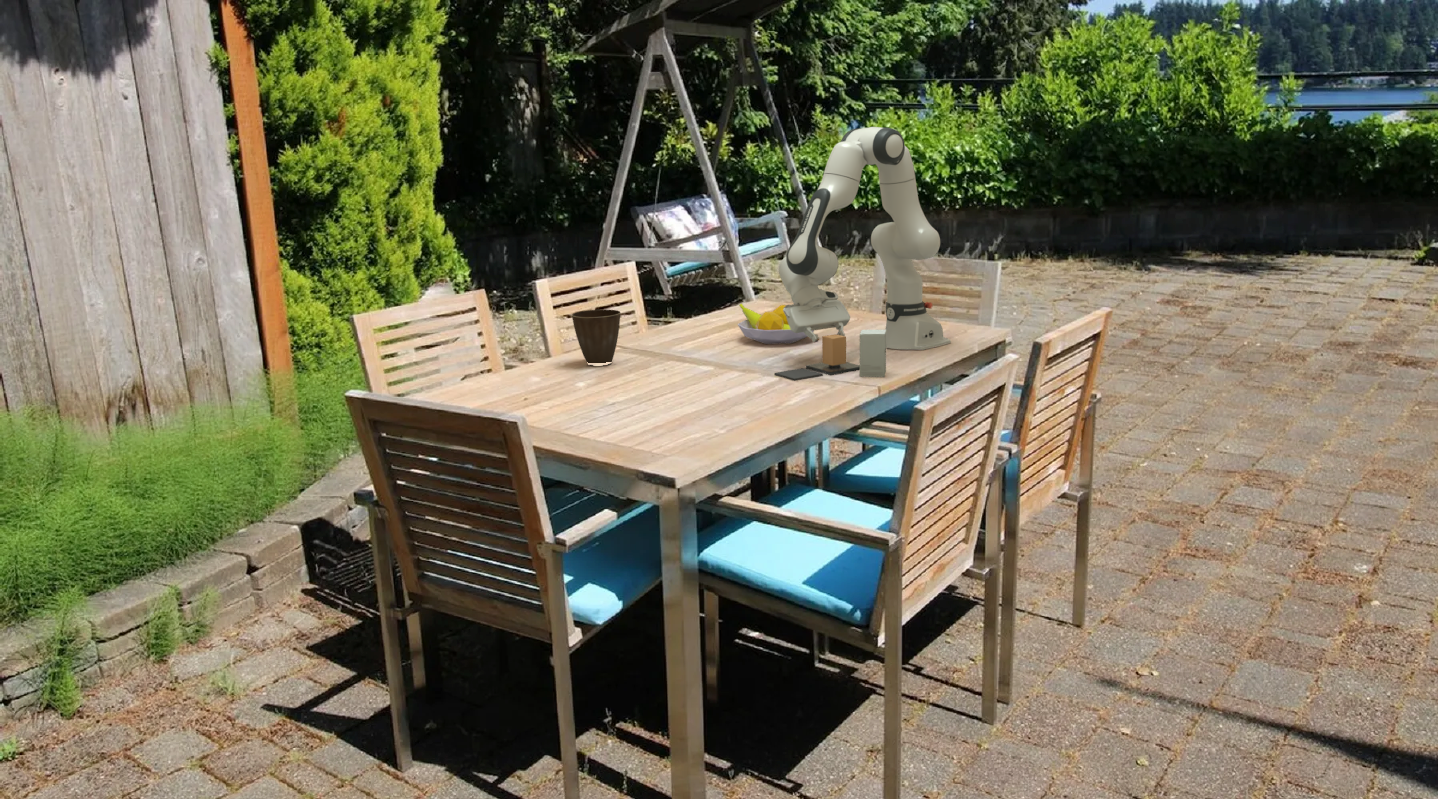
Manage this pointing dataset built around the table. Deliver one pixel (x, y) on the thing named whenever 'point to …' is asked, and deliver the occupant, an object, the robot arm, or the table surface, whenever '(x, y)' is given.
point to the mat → (798, 374)
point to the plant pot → (597, 334)
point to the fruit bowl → (768, 327)
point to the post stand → (833, 368)
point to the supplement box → (872, 353)
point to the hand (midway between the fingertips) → (829, 339)
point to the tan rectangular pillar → (834, 349)
